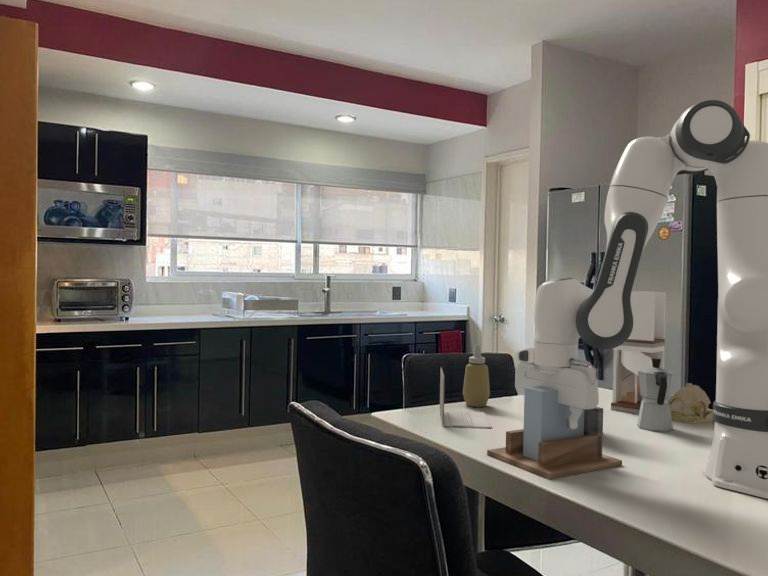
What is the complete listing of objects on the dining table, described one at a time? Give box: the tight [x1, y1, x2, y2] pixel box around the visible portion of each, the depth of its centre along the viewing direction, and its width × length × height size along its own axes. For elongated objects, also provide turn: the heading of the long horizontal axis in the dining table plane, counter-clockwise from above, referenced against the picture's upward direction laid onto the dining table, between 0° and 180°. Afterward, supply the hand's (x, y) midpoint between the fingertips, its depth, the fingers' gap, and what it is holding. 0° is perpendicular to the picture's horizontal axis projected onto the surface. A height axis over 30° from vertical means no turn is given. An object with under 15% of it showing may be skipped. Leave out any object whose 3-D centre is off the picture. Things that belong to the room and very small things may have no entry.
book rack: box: [486, 406, 623, 480], centre depth 126 cm, size 18×20×11 cm
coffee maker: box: [636, 358, 675, 433], centre depth 156 cm, size 15×9×18 cm, turn 168°
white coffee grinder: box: [610, 290, 667, 415], centre depth 180 cm, size 11×11×35 cm
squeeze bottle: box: [462, 344, 491, 408], centre depth 182 cm, size 8×8×18 cm
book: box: [523, 386, 584, 461], centre depth 126 cm, size 5×12×14 cm, turn 120°
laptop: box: [439, 367, 493, 429], centre depth 162 cm, size 18×12×13 cm
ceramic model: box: [668, 382, 713, 424], centre depth 170 cm, size 14×11×10 cm
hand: (554, 423), depth 126 cm, fingers open, 8 cm apart
